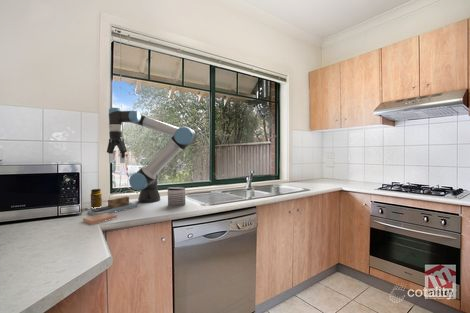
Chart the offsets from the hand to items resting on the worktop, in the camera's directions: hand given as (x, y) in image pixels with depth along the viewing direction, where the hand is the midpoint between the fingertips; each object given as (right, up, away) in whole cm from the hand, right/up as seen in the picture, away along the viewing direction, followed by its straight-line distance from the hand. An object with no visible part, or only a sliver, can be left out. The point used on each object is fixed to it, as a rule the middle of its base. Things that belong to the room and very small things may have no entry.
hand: (116, 163), depth 152 cm
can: (+41, -28, -2) cm, 50 cm away
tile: (+11, -28, -27) cm, 41 cm away
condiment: (-12, -29, -4) cm, 32 cm away
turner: (+3, -27, -12) cm, 30 cm away
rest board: (+4, -29, -11) cm, 31 cm away
